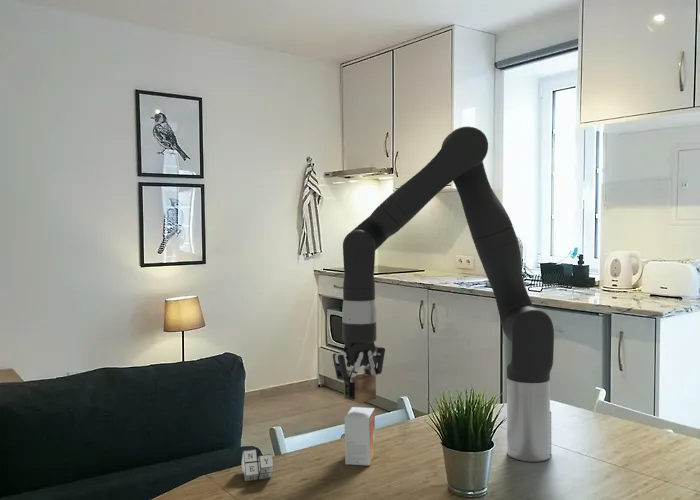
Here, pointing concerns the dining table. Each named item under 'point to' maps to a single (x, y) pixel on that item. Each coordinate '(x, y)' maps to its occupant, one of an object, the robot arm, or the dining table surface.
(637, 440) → the dining table surface
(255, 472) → the building blocks
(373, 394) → the walnut cube
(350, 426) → the small box
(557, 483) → the dining table surface
